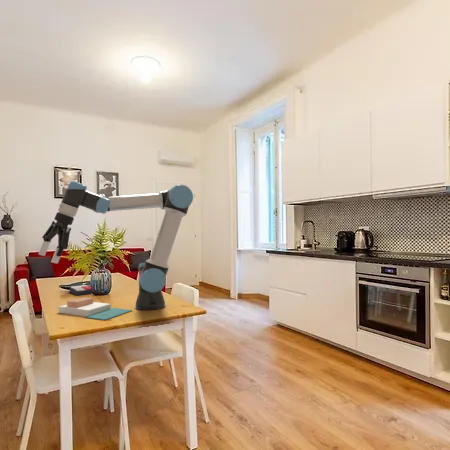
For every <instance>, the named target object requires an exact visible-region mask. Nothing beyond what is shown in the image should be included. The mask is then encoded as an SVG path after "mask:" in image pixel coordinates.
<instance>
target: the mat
mask: <svg viewBox="0 0 450 450" xmlns="http://www.w3.org/2000/svg"><path fill="white" fill-rule="evenodd" d="M130 312H133V310H132V309H125V308H119V307H118V308H117V307H111V309H108V310H105V311H102V312H99V313H96V314H92V315H89V316H84V317H85V319H90V320H91V319H93V320H98V321H99V320H100V321H107V320H110V319H114V318H116V317H119V316H122V315H125V314H128V313H130Z"/></svg>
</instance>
